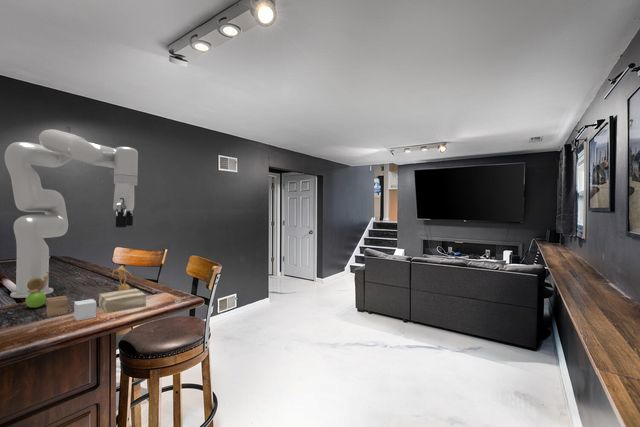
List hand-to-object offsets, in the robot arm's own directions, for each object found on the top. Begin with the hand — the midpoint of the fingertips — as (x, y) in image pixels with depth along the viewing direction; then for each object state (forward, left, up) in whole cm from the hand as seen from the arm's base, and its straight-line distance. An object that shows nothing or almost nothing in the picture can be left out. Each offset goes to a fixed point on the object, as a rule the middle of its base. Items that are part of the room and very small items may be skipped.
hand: (124, 226), depth 118 cm
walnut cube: (0, -19, -29) cm, 35 cm away
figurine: (-12, +3, -29) cm, 32 cm away
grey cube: (+10, -13, -29) cm, 33 cm away
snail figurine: (-12, -23, -29) cm, 39 cm away
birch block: (+4, -1, -29) cm, 29 cm away
